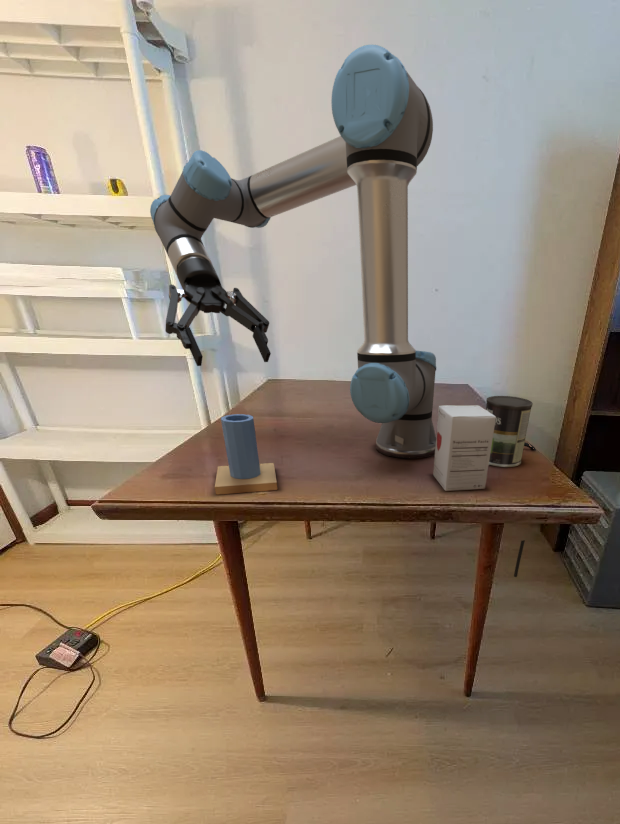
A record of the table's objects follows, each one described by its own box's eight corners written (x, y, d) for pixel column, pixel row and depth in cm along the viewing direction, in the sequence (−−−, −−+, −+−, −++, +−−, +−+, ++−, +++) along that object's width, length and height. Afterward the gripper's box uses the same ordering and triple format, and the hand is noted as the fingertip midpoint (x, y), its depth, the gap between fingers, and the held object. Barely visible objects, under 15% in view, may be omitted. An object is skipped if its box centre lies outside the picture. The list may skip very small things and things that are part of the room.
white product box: (431, 475, 93) (437, 404, 85) (470, 473, 94) (479, 404, 87) (444, 491, 85) (451, 415, 77) (486, 489, 87) (497, 415, 79)
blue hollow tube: (260, 467, 87) (253, 413, 82) (260, 477, 83) (253, 421, 77) (231, 469, 86) (221, 414, 80) (230, 480, 81) (220, 422, 76)
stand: (274, 469, 91) (268, 420, 86) (277, 489, 82) (271, 435, 77) (219, 473, 88) (209, 422, 83) (216, 494, 79) (205, 438, 74)
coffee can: (493, 469, 97) (502, 406, 90) (470, 455, 106) (478, 396, 99) (530, 465, 101) (542, 404, 94) (506, 451, 109) (515, 394, 102)
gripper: (250, 288, 97) (288, 367, 95) (126, 283, 83) (166, 376, 81) (257, 260, 91) (297, 344, 89) (124, 249, 77) (168, 348, 75)
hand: (235, 359), depth 85 cm, fingers open, 13 cm apart
